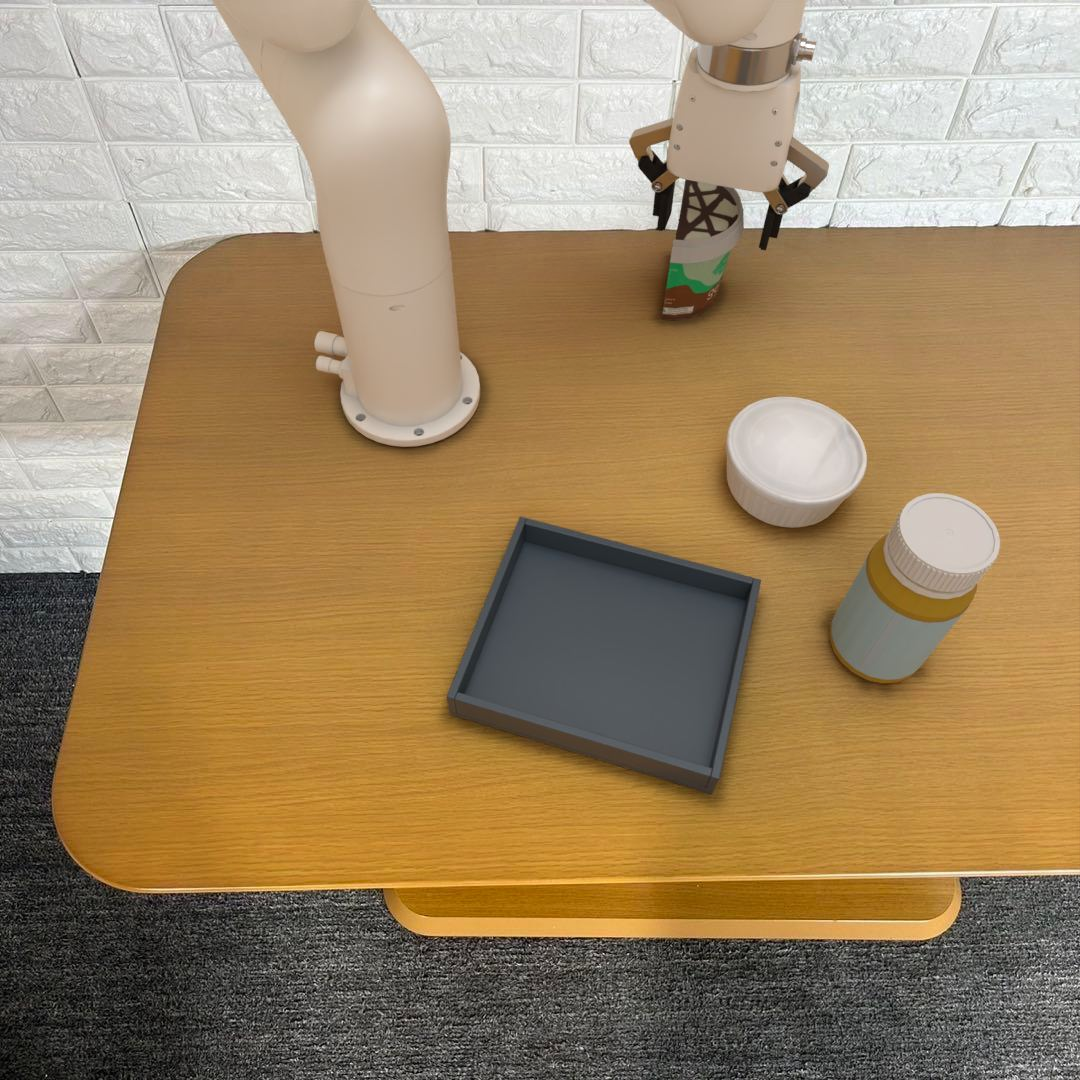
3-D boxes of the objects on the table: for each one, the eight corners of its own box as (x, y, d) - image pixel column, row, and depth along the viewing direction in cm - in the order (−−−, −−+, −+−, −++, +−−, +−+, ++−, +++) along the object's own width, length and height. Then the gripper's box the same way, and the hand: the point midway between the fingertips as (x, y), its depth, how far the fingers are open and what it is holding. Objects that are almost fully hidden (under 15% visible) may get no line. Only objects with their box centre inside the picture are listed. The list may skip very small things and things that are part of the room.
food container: (723, 338, 87) (742, 252, 78) (659, 329, 87) (672, 243, 79) (733, 257, 93) (752, 170, 85) (674, 249, 94) (688, 162, 86)
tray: (449, 714, 65) (446, 696, 62) (520, 538, 73) (519, 515, 71) (711, 794, 62) (719, 779, 59) (753, 600, 70) (761, 579, 68)
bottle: (902, 703, 65) (989, 598, 53) (812, 657, 67) (875, 546, 55) (933, 632, 69) (1021, 517, 56) (846, 590, 71) (913, 471, 58)
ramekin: (860, 541, 73) (880, 503, 69) (723, 539, 73) (735, 501, 69) (836, 437, 80) (854, 396, 75) (710, 435, 80) (720, 394, 75)
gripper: (863, 40, 71) (811, 223, 85) (650, 9, 74) (634, 191, 88) (852, 90, 67) (800, 274, 81) (627, 56, 70) (614, 239, 84)
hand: (713, 231), depth 85 cm, fingers open, 9 cm apart
